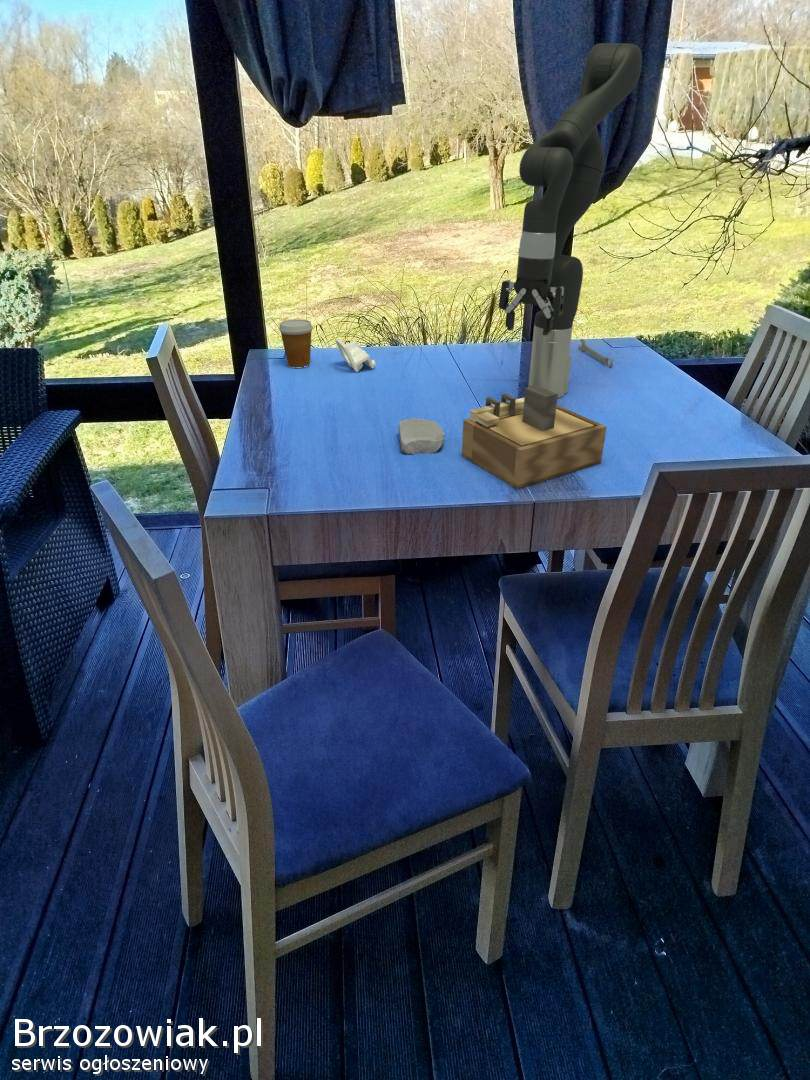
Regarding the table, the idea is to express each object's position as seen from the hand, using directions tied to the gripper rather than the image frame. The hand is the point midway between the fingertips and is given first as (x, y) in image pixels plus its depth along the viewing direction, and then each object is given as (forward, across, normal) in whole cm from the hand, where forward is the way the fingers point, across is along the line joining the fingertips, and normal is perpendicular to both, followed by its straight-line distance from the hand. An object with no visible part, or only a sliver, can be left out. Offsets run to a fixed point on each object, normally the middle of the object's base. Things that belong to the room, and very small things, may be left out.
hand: (527, 332), depth 153 cm
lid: (+13, -13, +24) cm, 30 cm away
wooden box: (+20, -12, +23) cm, 33 cm away
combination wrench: (+17, -1, -54) cm, 57 cm away
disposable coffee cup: (+20, +70, -4) cm, 73 cm away
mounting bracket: (+19, +55, -11) cm, 59 cm away
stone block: (+21, +11, +27) cm, 36 cm away
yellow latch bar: (+12, -7, +21) cm, 25 cm away
